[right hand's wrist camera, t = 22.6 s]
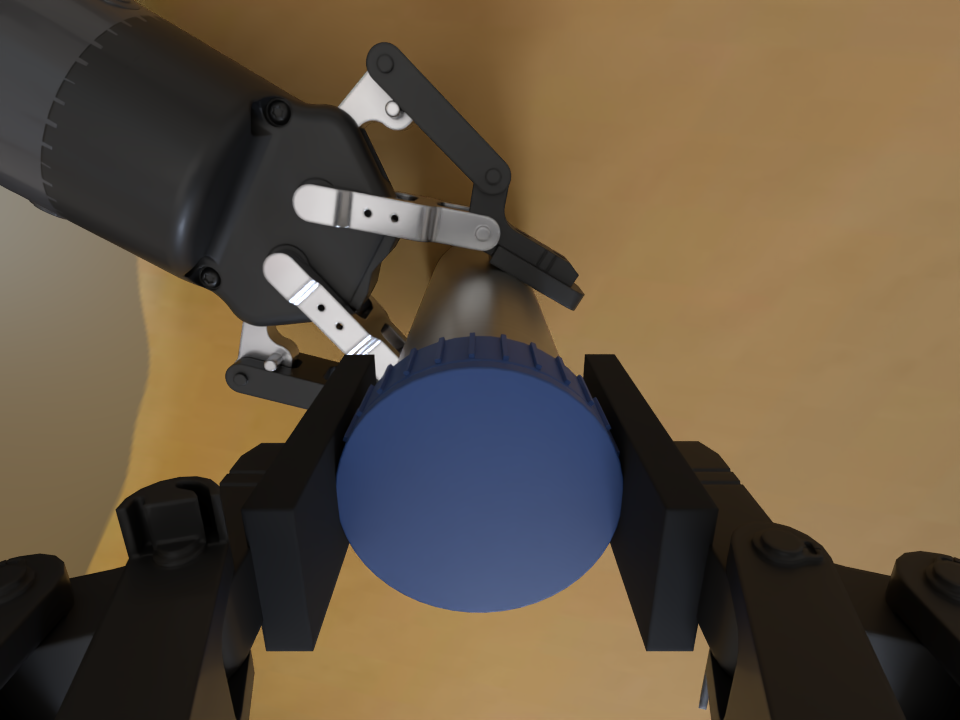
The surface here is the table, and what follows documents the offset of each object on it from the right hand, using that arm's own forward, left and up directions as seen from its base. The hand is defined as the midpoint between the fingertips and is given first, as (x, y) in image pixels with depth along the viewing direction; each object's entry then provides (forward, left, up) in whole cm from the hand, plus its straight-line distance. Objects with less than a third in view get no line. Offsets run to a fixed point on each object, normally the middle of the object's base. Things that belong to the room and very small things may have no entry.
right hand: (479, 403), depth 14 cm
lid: (0, 0, +4) cm, 4 cm away
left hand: (-2, +2, -7) cm, 8 cm away
